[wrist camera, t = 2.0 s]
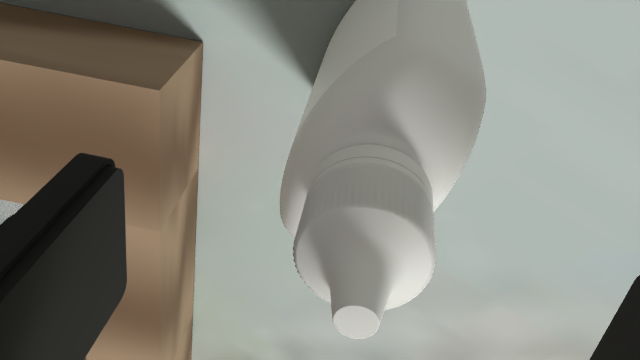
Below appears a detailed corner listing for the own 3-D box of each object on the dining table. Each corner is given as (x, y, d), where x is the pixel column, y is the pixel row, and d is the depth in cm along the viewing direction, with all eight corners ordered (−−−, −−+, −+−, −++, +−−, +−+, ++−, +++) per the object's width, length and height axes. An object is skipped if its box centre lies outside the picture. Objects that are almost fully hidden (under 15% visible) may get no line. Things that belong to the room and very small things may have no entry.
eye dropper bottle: (277, 29, 19) (124, 279, 9) (438, -63, 17) (474, 128, 7) (345, 136, 21) (280, 446, 11) (498, 64, 19) (597, 366, 9)
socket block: (-198, -35, 20) (-321, -3, 17) (203, 42, 20) (159, 90, 16) (-78, 328, 30) (-141, 394, 26) (190, 385, 29) (161, 459, 26)
